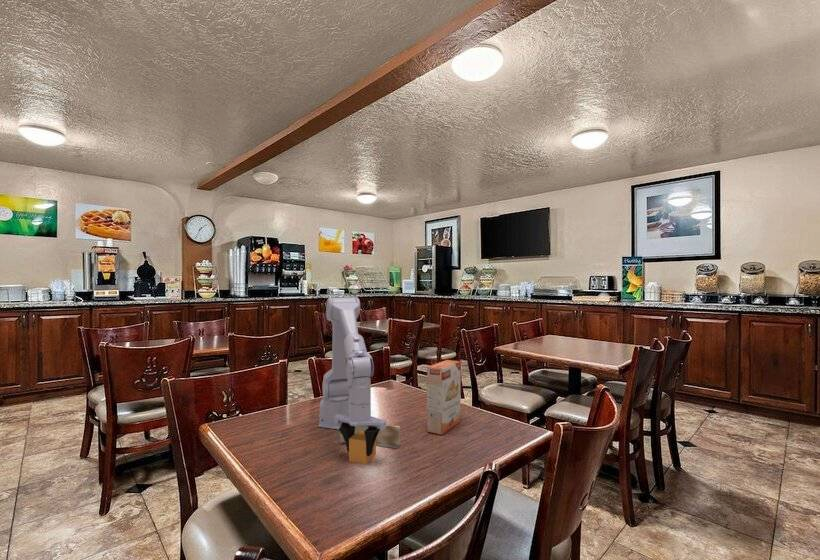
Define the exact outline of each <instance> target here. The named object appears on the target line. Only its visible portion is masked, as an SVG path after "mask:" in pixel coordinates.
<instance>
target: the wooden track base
mask: <svg viewBox="0 0 820 560" xmlns="http://www.w3.org/2000/svg"><path fill="white" fill-rule="evenodd" d="M341 425H342V423H340V427H341ZM340 435H341V432H340V431H339V436H340ZM400 446H401V426H400V425H393V424H387V423H386V428H385V429H384V430H380V431H379V433H378V435H377V437H376V447H380V448H381V447H382V448H388V449H395V450H397V449H398V448H399V447H400Z"/></svg>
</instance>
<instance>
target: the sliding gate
mask: <svg viewBox="0 0 820 560" xmlns="http://www.w3.org/2000/svg"><path fill="white" fill-rule="evenodd" d="M366 429H368V427H364V426H355V433H354V434H356V433H357V432H358V431H365V430H366ZM339 441H340V443H345V440H344V438H343V436H342V434H341V435H340V434H339Z"/></svg>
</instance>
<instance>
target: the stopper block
mask: <svg viewBox="0 0 820 560" xmlns="http://www.w3.org/2000/svg"><path fill="white" fill-rule="evenodd" d="M376 455H377V446H376V440H375V443H374V447H373V452H372V454H371V455H370V456H367V454H366V438H365V434H364V431H358V432H357V433H356V434H354V435H353V436H352V437H350V438H349V453H348V461H349V462H351V463H357V464H363V465H367V464H369V462H370V461H371V460H372V459H373V458H374V457H376Z"/></svg>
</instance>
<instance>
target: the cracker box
mask: <svg viewBox="0 0 820 560" xmlns="http://www.w3.org/2000/svg"><path fill="white" fill-rule="evenodd" d="M461 367H462V362H461V361H458V360H450V359H446V360H443V361H440V362H437V363H435V364H434V363H433V364H432V365H429V366H427V367H426V370H427V371H426V373H427V374H426V432H427V433H430V434H435V435H438V436H443V435H444V434H446V433H447V432H448V431H450V430H451V429H452V428H454V427H455V426H457V425H458V424H460V423H461V382H462V381H461V380H462V379H461V378H462V377H461V375H462V373H461V371H462V369H461Z"/></svg>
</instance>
